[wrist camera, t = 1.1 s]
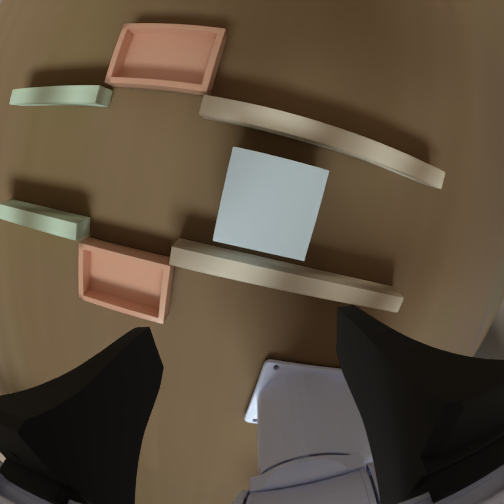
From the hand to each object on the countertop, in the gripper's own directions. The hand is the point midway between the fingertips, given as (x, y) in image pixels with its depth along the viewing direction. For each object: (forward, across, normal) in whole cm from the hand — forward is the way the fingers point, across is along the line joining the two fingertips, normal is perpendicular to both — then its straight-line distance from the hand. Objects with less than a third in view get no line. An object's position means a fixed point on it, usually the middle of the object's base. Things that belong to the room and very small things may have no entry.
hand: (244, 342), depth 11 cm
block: (+10, -2, -4) cm, 11 cm away
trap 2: (+10, +4, -14) cm, 17 cm away
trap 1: (+10, +9, 0) cm, 13 cm away
